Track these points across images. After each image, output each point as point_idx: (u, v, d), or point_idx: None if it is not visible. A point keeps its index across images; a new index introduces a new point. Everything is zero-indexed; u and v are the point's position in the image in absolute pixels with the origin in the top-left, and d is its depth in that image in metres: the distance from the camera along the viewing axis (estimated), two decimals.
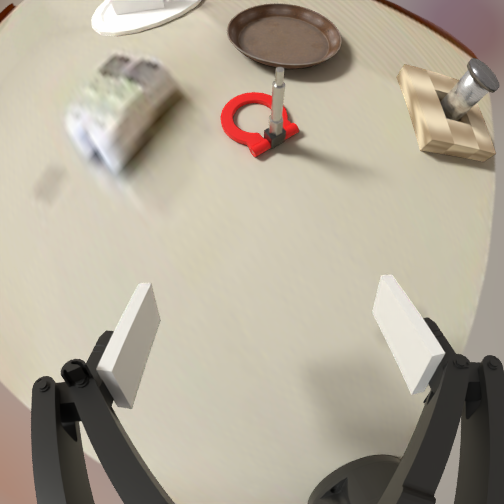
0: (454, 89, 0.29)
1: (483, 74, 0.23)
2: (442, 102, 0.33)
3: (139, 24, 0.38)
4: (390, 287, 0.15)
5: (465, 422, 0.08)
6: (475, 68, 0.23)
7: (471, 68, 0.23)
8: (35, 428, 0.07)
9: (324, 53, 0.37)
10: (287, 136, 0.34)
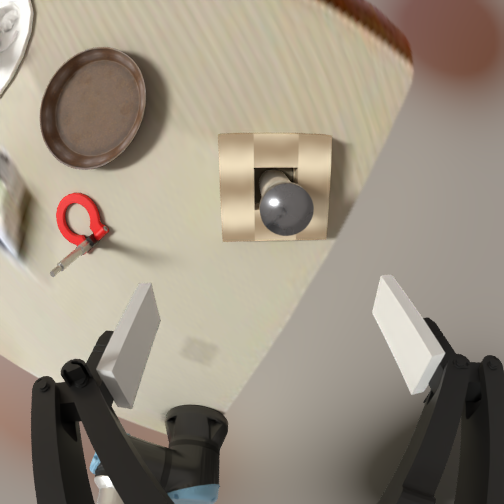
0: (262, 192, 0.33)
1: (279, 216, 0.28)
2: (260, 183, 0.37)
3: None
4: (390, 287, 0.15)
5: (465, 422, 0.08)
6: (266, 210, 0.28)
7: (259, 209, 0.28)
8: (35, 428, 0.07)
9: (132, 122, 0.35)
10: (100, 238, 0.41)
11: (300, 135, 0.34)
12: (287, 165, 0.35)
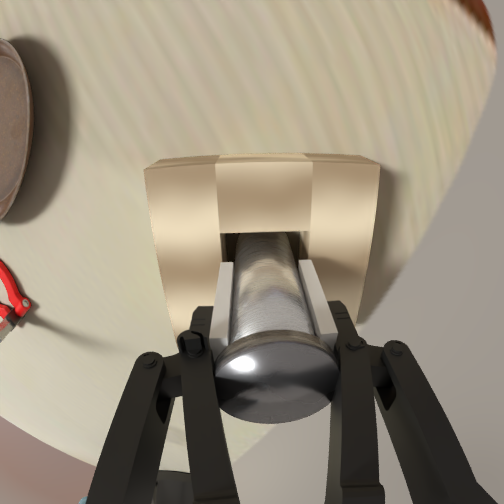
0: (232, 298, 0.16)
1: (258, 400, 0.11)
2: (235, 261, 0.19)
3: None
4: (304, 271, 0.16)
5: (386, 414, 0.10)
6: (226, 392, 0.11)
7: None
8: (124, 402, 0.09)
9: None
10: (23, 313, 0.25)
11: (316, 165, 0.16)
12: (288, 227, 0.18)
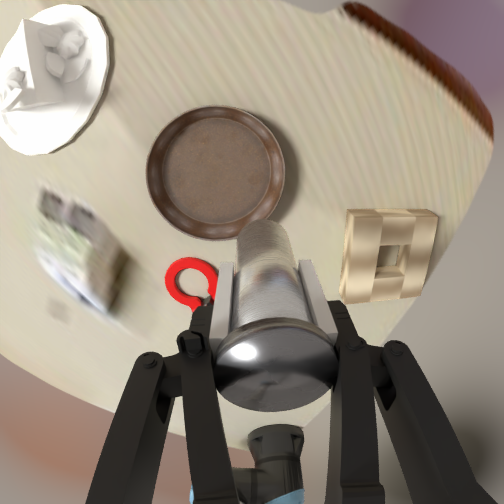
0: (233, 291, 0.16)
1: (258, 387, 0.12)
2: (236, 256, 0.20)
3: (48, 143, 0.34)
4: (303, 271, 0.16)
5: (386, 414, 0.10)
6: (227, 379, 0.11)
7: None
8: (124, 402, 0.09)
9: (262, 193, 0.39)
10: None
11: (417, 218, 0.37)
12: (404, 243, 0.39)
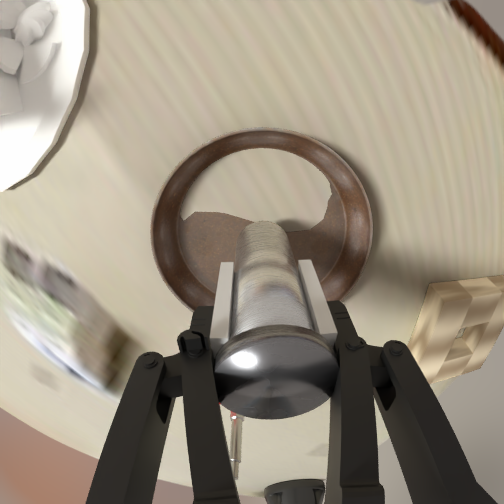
0: None
1: (257, 395, 0.11)
2: (235, 258, 0.19)
3: (2, 176, 0.20)
4: (303, 271, 0.16)
5: (385, 414, 0.10)
6: (226, 386, 0.11)
7: None
8: (125, 402, 0.09)
9: (329, 265, 0.26)
10: None
11: (502, 293, 0.24)
12: (483, 321, 0.26)
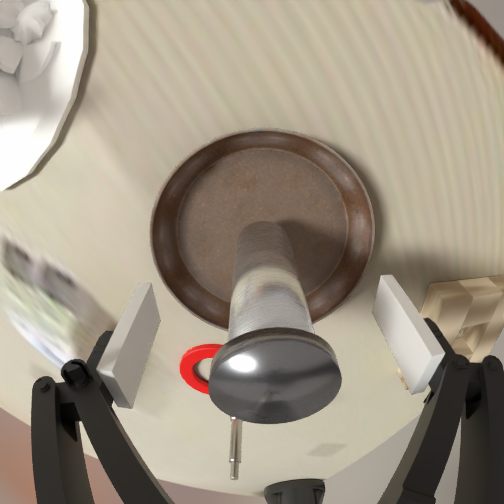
0: (231, 296, 0.16)
1: (256, 400, 0.11)
2: (235, 259, 0.19)
3: (1, 175, 0.20)
4: (390, 287, 0.15)
5: (465, 422, 0.08)
6: (223, 391, 0.11)
7: None
8: (35, 428, 0.07)
9: (330, 267, 0.26)
10: None
11: (503, 293, 0.24)
12: (484, 321, 0.26)
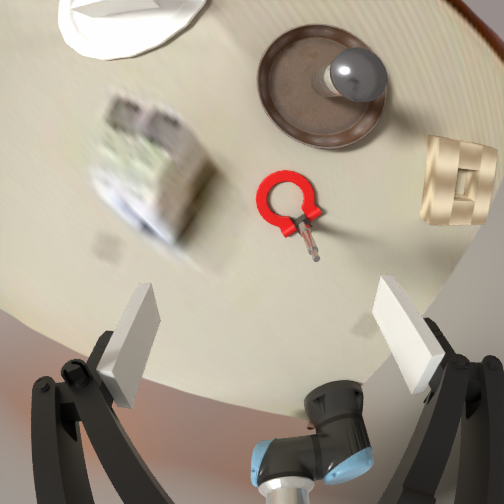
0: (323, 73, 0.26)
1: (353, 79, 0.21)
2: (316, 75, 0.29)
3: (133, 45, 0.30)
4: (390, 287, 0.15)
5: (465, 422, 0.08)
6: (339, 71, 0.21)
7: (331, 71, 0.21)
8: (35, 428, 0.07)
9: (363, 109, 0.36)
10: (311, 219, 0.43)
11: (483, 147, 0.34)
12: (475, 168, 0.36)
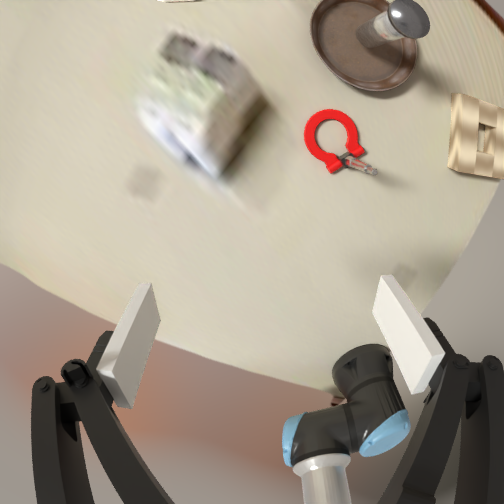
0: (374, 21, 0.25)
1: (406, 19, 0.21)
2: (364, 26, 0.29)
3: None
4: (390, 287, 0.15)
5: (465, 422, 0.08)
6: (396, 12, 0.20)
7: (390, 12, 0.21)
8: (35, 428, 0.07)
9: (397, 64, 0.35)
10: (355, 157, 0.43)
11: (498, 107, 0.34)
12: (492, 125, 0.36)
